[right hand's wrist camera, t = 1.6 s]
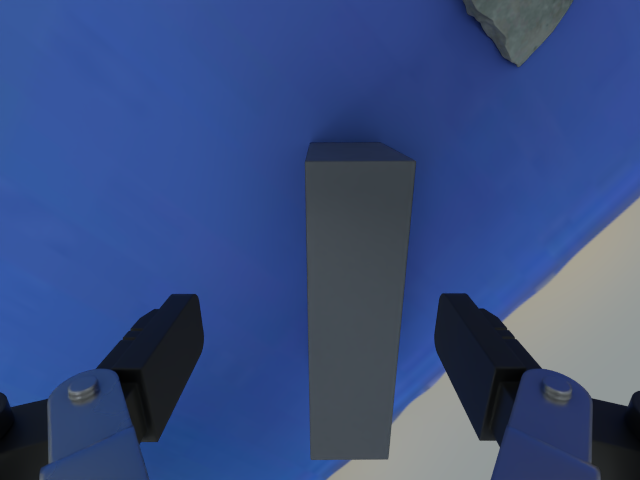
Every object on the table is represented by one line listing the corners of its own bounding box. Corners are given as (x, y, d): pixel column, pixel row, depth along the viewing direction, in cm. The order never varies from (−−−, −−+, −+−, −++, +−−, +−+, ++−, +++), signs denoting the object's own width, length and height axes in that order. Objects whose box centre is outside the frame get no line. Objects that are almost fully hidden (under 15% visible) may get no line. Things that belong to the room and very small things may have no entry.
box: (309, 142, 28) (304, 161, 18) (381, 142, 28) (416, 160, 18) (312, 361, 36) (310, 460, 25) (368, 360, 36) (388, 459, 25)
